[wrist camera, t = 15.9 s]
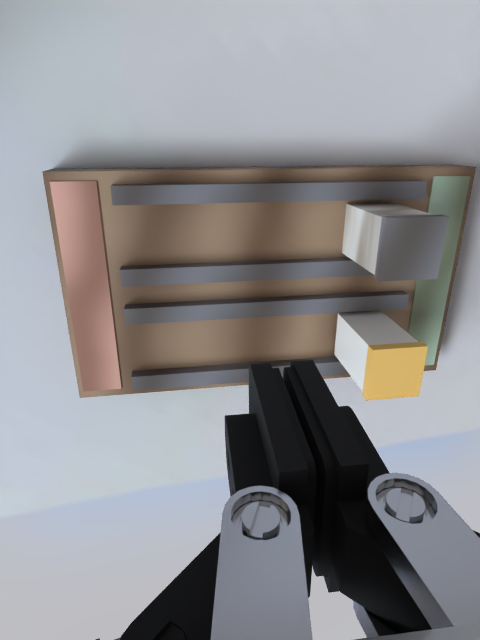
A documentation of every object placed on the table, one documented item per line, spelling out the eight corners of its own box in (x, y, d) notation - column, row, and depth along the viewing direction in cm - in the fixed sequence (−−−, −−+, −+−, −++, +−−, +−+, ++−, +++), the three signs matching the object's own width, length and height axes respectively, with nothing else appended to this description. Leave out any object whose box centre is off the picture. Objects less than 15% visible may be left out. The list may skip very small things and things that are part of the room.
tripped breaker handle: (382, 309, 29) (428, 346, 24) (376, 352, 30) (418, 396, 25) (336, 312, 29) (372, 350, 24) (332, 355, 30) (366, 400, 25)
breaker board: (456, 165, 28) (548, 174, 21) (421, 357, 34) (486, 414, 27) (51, 169, 25) (6, 181, 18) (85, 381, 30) (60, 454, 24)
